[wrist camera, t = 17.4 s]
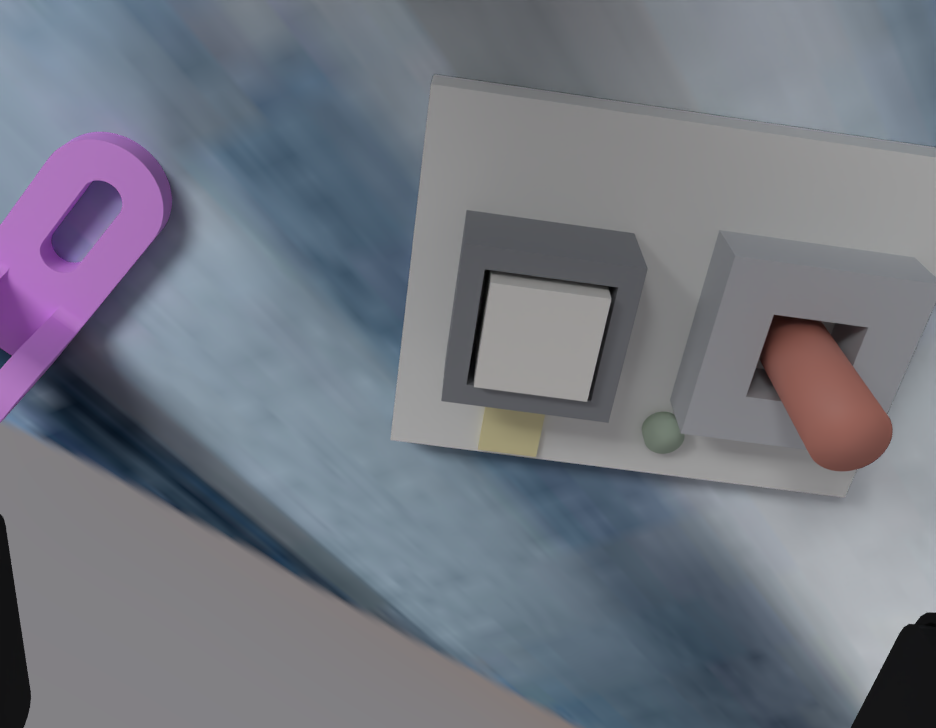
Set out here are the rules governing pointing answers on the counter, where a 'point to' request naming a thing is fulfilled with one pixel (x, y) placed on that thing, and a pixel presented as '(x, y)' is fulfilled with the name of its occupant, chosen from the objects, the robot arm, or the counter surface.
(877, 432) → the peg
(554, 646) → the counter surface
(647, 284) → the panel
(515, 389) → the button
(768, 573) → the counter surface
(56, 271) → the bracket
